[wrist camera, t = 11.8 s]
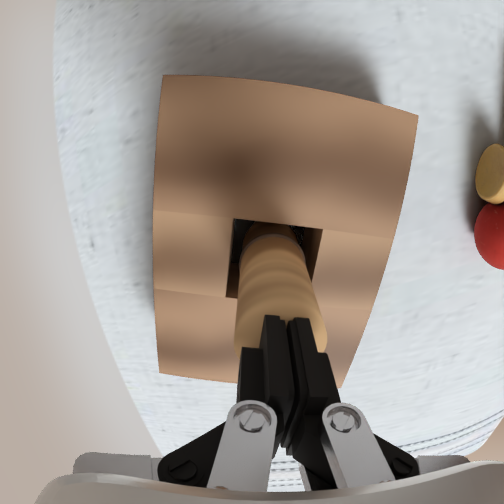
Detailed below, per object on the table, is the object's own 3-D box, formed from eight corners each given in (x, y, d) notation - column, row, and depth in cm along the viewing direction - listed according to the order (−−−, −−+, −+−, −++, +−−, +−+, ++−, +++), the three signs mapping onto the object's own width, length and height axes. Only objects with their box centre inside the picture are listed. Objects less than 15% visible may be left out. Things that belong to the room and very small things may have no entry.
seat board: (183, 85, 18) (162, 74, 14) (385, 115, 19) (418, 115, 14) (172, 333, 26) (159, 372, 22) (329, 348, 27) (340, 388, 22)
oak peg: (245, 206, 22) (235, 297, 11) (299, 212, 22) (341, 307, 11) (239, 255, 23) (227, 373, 12) (290, 261, 23) (316, 379, 12)
